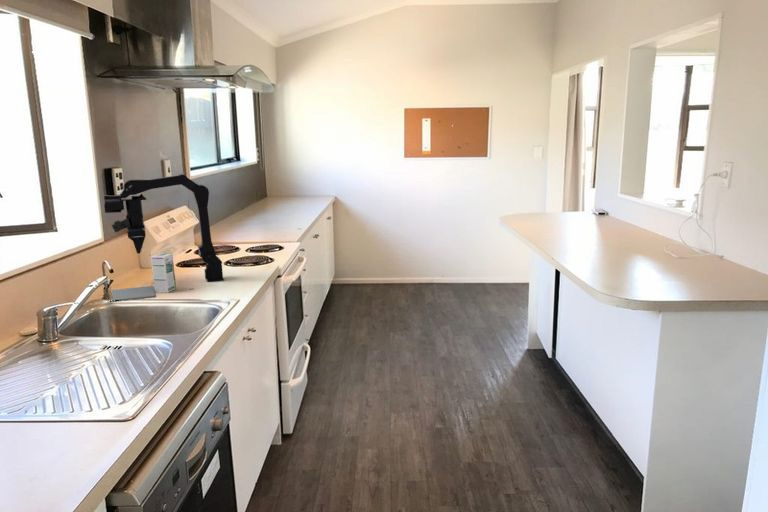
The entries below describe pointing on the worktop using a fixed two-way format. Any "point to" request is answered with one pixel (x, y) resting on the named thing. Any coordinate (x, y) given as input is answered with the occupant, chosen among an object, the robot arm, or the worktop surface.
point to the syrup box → (163, 272)
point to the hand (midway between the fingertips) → (138, 251)
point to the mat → (133, 293)
